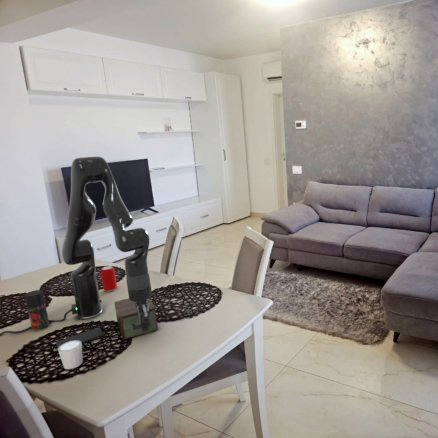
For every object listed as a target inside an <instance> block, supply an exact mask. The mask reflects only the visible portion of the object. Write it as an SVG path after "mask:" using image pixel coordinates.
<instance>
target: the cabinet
mask: <svg viewBox="0 0 438 438" xmlns="http://www.w3.org/2000/svg"><path fill="white" fill-rule="evenodd" d="M147 302H148V303H149V308H148V309H149V311H150V310H151V311H152V310H154V311H155V319H156V327H157V329H156V330H152V331H149V332H146V333H142V334H139V335H136V336H132V337H129V338H126V339H125V334H124V328H123V321H122V318H125V317H128V316H132V315H136V314H137V309H136V306H135V302H133V301H131V300H130V299H129V297H128V298H124V299H120V300H116V301H114V302H113V303H114V311H115V316H116V317H115V318H116V323H117V326H118V329H119V331H120V334H121V337H122V339H123V340H128V339H131V338H134V337H138V336H142V335H145V334H148V333H151V332H155V331H158V330H159V327H158V320H157V310H156V306H155V305H154V303H153V302H152V301H151V299H150V298H148V299H147Z"/></svg>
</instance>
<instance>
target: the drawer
mask: <svg viewBox="0 0 438 438" xmlns="http://www.w3.org/2000/svg"><path fill="white" fill-rule="evenodd" d="M155 311H156V310H155ZM155 311H154V310H152V311H151V310H150V311H149V312H150V318H149V321H148V326H149V330H147V331H142V328H141V322H140V320H139V316H138V314H137V315H133V316H128V317H125V318H122V321H123V328H124V334H125V340H127V339H126V338H128V339H130V338H129V337H131V338H133V337H132V336H135V337H137V336H136V335H138V336H140V335H139V334H141V335H143V334H142V333H145V334H147V333H146V332H148V333H150V332H149V331H151V332H153V331H152V330H155V331H157V330H156V329H157V327H156V319H155Z"/></svg>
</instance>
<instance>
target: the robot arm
mask: <svg viewBox="0 0 438 438" xmlns="http://www.w3.org/2000/svg"><path fill="white" fill-rule="evenodd" d="M112 173H113V172H112V171H111V168H110V166H109V164H108V162H107V161H106V160H105V157H102V156H84V157H82V156H81V157H77V158H74V159H73V160H72V162H71V166H70V196H69V197H70V198H69V204H68V212H67V223H66V231H65V235H64V239H63V243H62V248H61V258H62V260H63V262H64V263H65V264H66V265H68V266H75V265H78V264H80V266H78V267H77V268H76V269H74V270H72V272H70V279H71V285H72V290H73V295H74V302H75V303H73V304H71V309H69V310H68V311H66V312H65V313H64V315H63V318H62V319H59V320H55V319H48V320H49V323H57V322H64V321H65V320H66V319H67V315H68V314H70V313H72V316H73V315H77V319H78V320H79V321H80V320H89V319H93V318H96V317H98V316H100V315H101V314H102V313H103V309H102V308H103V307H102V303H103V301H102V300H101V297H100V291H99V284H98V278H97V272H96V269H97V268H96V259H95V258H96V257H95V251H94V247H93V244H92V242H91V241H90V240H89V239H83V237H84V236H85V235H86V234H87V233H89V231H90V230H91V228H92V227H93V226H94V223H95V220H96V216H97V215H96V214H97V207H96V205H95V203H94V201H93V199H91V198H90V196H89V195H88V193H87V192H86V186H87V184H92V183H94V184H95V183H101V184H102V185H103V187H104V195H103V202H102V210H103V213H104V215H105V216H106V219H107V220H108V222H109V224H110V226H111V229H112V232H113V236H114V242H115V246H116V248H117V250H118V251H120V252H122V253H129V252H132V251H134V252H133V253H132V254H131V255H130V256H128V257H127V258H125V260H124V267H125V268H124V269H125V275H126V287H127V294H128V298H129V299H130V300H131V301H133V302H135V306H136V309H137V314H138V316H139V320H140V322H141V328H142V331H147V330H149V326H148V321H149V318H150V312H149V309H148V308H149V303H148V302H147V299H148V298H149V299H150V298H151V297H153V292H152V284H151V276H150V273H149V267H148V255H149V247H150V235H149V233H148V231H147V230H146V229H145V228H144V227H136V228H132V229H128V230H126V229H127V228H129V227H130V226H131V225H133V222H134V219H133V216H132V214H131V212H130V210H129V209H128V208H127V206H126V204H125V203H124V201H123V198H122V197H121V195H120V192H119V189H118V187H117V183H116V181H115V179H114V175H113V174H112ZM30 329H31V330H32V327H31V326H28V327H27V328H24V329H21V330H16V331H14V330H4V331H2V332H0V337H2V335H4V334H20V333H23V332H26V331H29V330H30Z"/></svg>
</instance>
